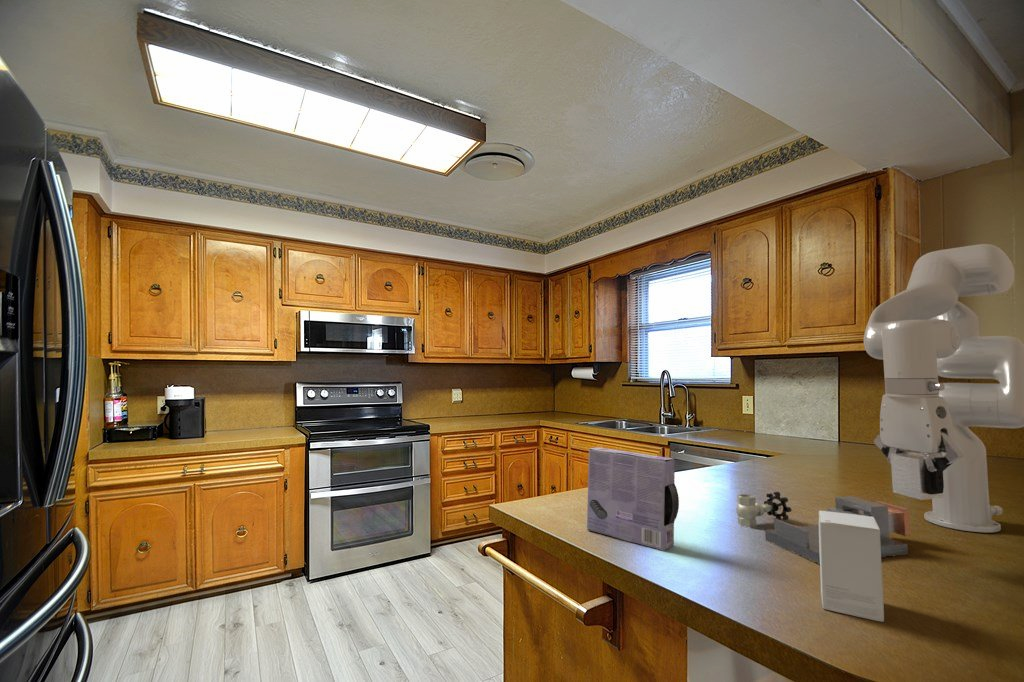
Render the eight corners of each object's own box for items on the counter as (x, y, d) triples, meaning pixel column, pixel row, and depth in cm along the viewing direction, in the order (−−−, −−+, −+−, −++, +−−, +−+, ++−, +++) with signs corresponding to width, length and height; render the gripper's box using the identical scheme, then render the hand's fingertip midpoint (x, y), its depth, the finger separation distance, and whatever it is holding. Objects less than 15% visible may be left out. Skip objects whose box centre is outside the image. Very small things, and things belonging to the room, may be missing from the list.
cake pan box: (681, 546, 95) (679, 456, 96) (669, 553, 92) (667, 459, 93) (598, 525, 108) (597, 446, 109) (585, 531, 105) (584, 448, 106)
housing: (919, 489, 90) (917, 451, 90) (949, 496, 85) (946, 456, 86) (893, 492, 89) (890, 454, 89) (921, 499, 84) (918, 459, 84)
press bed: (845, 532, 103) (843, 492, 104) (907, 554, 91) (905, 509, 91) (765, 539, 99) (764, 498, 99) (819, 564, 86) (817, 516, 87)
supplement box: (885, 623, 66) (881, 529, 67) (821, 609, 70) (817, 520, 71) (879, 601, 72) (875, 515, 73) (820, 590, 76) (817, 508, 77)
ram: (880, 526, 101) (879, 500, 101) (909, 535, 95) (908, 508, 96) (825, 531, 98) (824, 505, 98) (852, 541, 92) (851, 513, 92)
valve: (752, 531, 104) (792, 524, 109) (751, 500, 105) (791, 495, 109) (728, 522, 111) (767, 516, 115) (727, 493, 111) (766, 488, 115)
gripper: (981, 389, 80) (989, 500, 79) (882, 385, 97) (887, 476, 96) (946, 391, 78) (954, 505, 78) (851, 386, 95) (857, 479, 94)
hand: (917, 488), depth 87 cm, fingers closed on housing, 5 cm apart
